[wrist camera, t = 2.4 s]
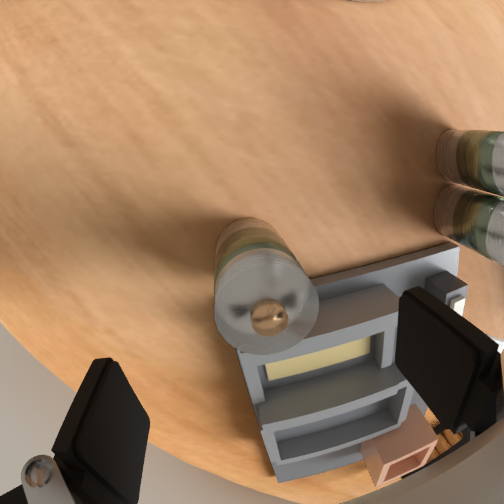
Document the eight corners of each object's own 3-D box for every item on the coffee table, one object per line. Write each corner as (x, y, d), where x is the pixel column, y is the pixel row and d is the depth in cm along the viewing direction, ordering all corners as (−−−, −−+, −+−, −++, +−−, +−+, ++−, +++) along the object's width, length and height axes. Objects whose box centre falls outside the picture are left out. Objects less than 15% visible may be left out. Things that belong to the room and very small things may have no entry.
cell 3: (432, 187, 16) (516, 213, 9) (467, 182, 16) (544, 204, 9) (433, 240, 17) (507, 283, 11) (467, 231, 17) (537, 266, 11)
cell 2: (432, 129, 15) (519, 133, 8) (467, 129, 15) (547, 136, 8) (437, 185, 16) (520, 210, 9) (471, 180, 16) (548, 202, 9)
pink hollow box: (364, 424, 21) (383, 464, 17) (415, 403, 22) (438, 438, 17) (360, 452, 23) (375, 487, 19) (406, 433, 24) (424, 465, 19)
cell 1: (208, 225, 15) (200, 283, 9) (276, 211, 16) (319, 258, 9) (223, 287, 17) (228, 372, 10) (287, 273, 17) (326, 349, 10)
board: (223, 298, 17) (225, 339, 13) (450, 241, 17) (488, 261, 14) (276, 475, 25) (282, 505, 21) (412, 431, 25) (426, 455, 22)
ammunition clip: (459, 408, 26) (505, 471, 15) (459, 414, 27) (502, 474, 15) (388, 455, 27) (423, 527, 16) (391, 459, 27) (424, 528, 16)
